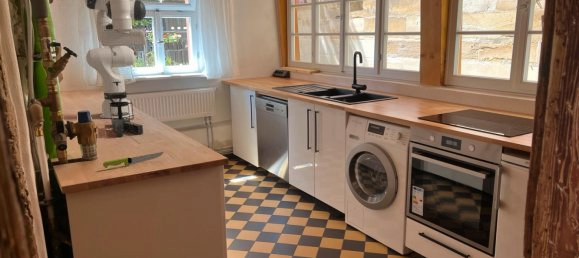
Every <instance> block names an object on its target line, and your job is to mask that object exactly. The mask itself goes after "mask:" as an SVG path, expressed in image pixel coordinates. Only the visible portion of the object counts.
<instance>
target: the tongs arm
mask: <svg viewBox="0 0 579 258" xmlns="http://www.w3.org/2000/svg"><path fill="white" fill-rule="evenodd" d="M122 131H125V132H127V133H131V134H132V133H133V134H136V135H142V134H144V129H143V124H140V123H136V122H131V121H130V122H128V121H127V122H123V130H122Z"/></svg>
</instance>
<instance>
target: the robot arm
mask: <svg viewBox="0 0 579 258" xmlns="http://www.w3.org/2000/svg"><path fill="white" fill-rule="evenodd" d="M83 1H84V3H85V5H86V7H87V9H89V10H93V11H94V10H97V13H96V19H95V21H96V23H95V24H96V32H97V37H98V41H99V42H100V44H101V46H102V47H95V48H92V49H88V51H87V52H86V56H85V60H86V63H87V65H88V66H90V67H91V68H92V69H94V70H95V71H96V72H97V73H98V74H99V75H100V77H101V80H102V84H103V85H102V86H103V90H104V91H103V92H104V93H103V98H104V100H103V102H102V103H101V110H102V113H100V115H99V118H102V119H103V118H104V119H105V118H106V119H111V116H112V115H111V114H113V113H118V108H117V107H111V112H110V103H113V102H118V99H112V98H111V96H110V95H109V94H110V93H116V92H117V86H116V83H113V82H121V83H118V92H124V93H127V91H126V85H125V83H126V82H125V77H123V75H120V73H119V74H118V73H115V72H114V71H112V68H125V67H131V66H133V65H134V64H135V63H136V61H137V56H138V50H139V49H140V46H146V45H147V39H146V34H147V31H146V28H145V27H144V26H141V25H138V26H137V25H133V21H137V22H141V21H142V20H143V19H145V17H146V16H147V12H146V11H147V10H146V5H145V4H144V2H143V1H142V0H83ZM129 46H130V47H132V46H135V50H133V49H132V48H130V47H129ZM119 102H128V103H130V102H131V101H130V100H129V99H127V98H122V99H119ZM128 105H129V111H128V106H123V107H121V109H122V112H128V115H125V116H122V118H129V116H135V115H136V114H135V112H133V114H132V106H131V104H128ZM116 118H118V116H112V119H116Z"/></svg>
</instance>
